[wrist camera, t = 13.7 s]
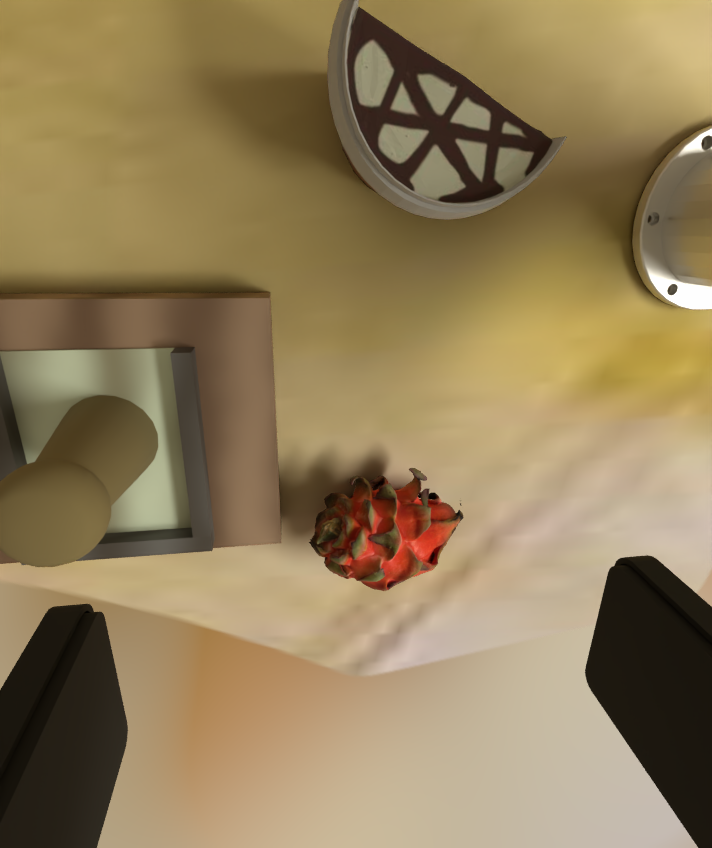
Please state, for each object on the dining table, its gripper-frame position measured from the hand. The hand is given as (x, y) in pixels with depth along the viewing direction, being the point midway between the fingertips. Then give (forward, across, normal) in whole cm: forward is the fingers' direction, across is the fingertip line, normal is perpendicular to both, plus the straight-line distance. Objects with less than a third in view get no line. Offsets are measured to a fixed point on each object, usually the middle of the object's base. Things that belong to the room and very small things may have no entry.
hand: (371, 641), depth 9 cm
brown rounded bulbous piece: (+25, +13, +6) cm, 29 cm away
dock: (+28, +13, +6) cm, 32 cm away
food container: (+28, -6, -11) cm, 31 cm away
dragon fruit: (+29, -6, +14) cm, 32 cm away
